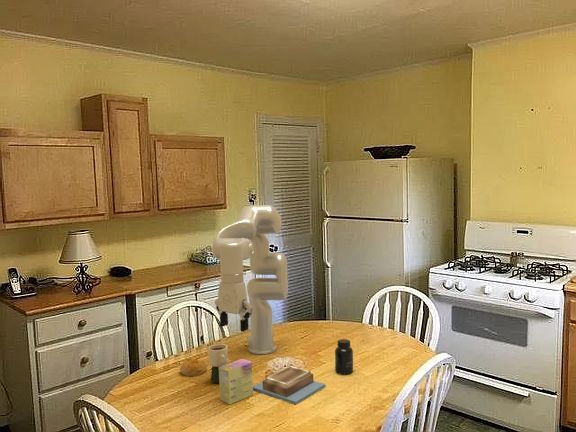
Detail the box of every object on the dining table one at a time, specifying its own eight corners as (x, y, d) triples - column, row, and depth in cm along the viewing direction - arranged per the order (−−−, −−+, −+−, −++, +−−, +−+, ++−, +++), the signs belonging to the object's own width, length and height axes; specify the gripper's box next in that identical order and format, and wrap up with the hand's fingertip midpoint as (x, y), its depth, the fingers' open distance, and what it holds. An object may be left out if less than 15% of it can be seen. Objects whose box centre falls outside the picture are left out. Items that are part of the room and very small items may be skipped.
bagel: (213, 370, 196) (212, 358, 196) (190, 380, 188) (189, 367, 188) (197, 365, 203) (197, 353, 202) (175, 373, 195) (174, 362, 194)
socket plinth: (262, 389, 175) (262, 378, 175) (289, 375, 187) (289, 364, 186) (287, 397, 168) (286, 385, 168) (313, 382, 180) (313, 371, 180)
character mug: (234, 383, 183) (232, 349, 182) (216, 388, 179) (214, 353, 178) (222, 374, 192) (220, 341, 191) (204, 378, 188) (203, 344, 187)
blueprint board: (251, 389, 177) (251, 386, 177) (282, 374, 190) (282, 371, 190) (296, 404, 165) (295, 401, 165) (325, 386, 178) (325, 384, 178)
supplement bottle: (352, 375, 187) (352, 344, 186) (334, 374, 188) (333, 343, 188) (353, 368, 194) (353, 338, 193) (336, 367, 195) (335, 337, 194)
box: (243, 390, 177) (241, 357, 176) (253, 395, 173) (252, 361, 172) (219, 400, 170) (218, 366, 169) (229, 405, 166) (228, 370, 165)
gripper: (206, 277, 171) (208, 326, 172) (243, 283, 160) (245, 335, 161) (222, 273, 176) (224, 321, 178) (258, 279, 166) (260, 329, 167)
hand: (234, 328), depth 170 cm, fingers open, 9 cm apart
